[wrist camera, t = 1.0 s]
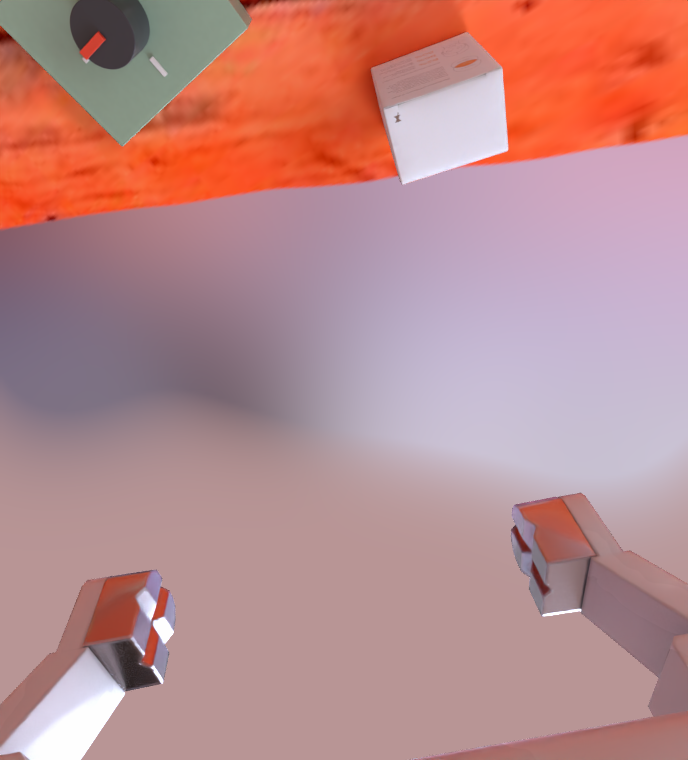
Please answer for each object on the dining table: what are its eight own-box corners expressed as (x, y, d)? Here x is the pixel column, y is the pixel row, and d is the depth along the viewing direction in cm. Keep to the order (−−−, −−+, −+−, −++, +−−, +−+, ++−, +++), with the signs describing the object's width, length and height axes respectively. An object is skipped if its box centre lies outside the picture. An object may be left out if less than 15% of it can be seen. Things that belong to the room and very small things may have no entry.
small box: (386, 135, 44) (399, 188, 37) (369, 65, 41) (379, 109, 33) (478, 104, 43) (510, 153, 35) (469, 29, 39) (503, 66, 32)
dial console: (131, -154, 32) (117, -156, 30) (252, 19, 38) (247, 28, 36) (8, 6, 37) (-13, 15, 35) (131, 133, 44) (121, 147, 42)
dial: (114, -30, 34) (93, -20, 31) (162, 29, 36) (147, 43, 33) (77, 13, 35) (54, 27, 32) (125, 67, 38) (108, 84, 35)
